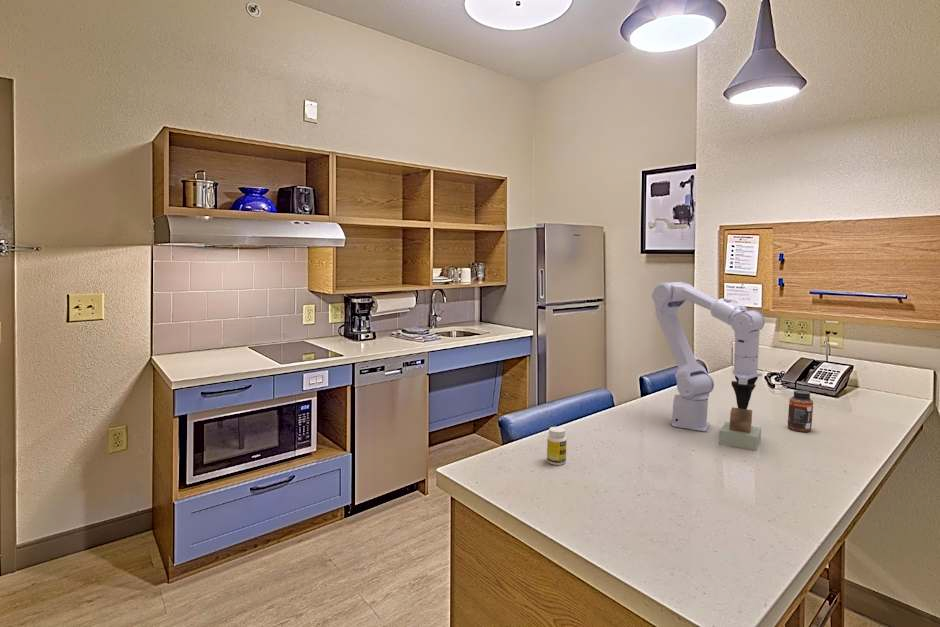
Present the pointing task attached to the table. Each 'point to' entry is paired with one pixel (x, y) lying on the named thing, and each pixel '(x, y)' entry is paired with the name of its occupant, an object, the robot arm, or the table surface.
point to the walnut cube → (740, 420)
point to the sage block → (740, 437)
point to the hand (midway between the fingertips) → (743, 404)
